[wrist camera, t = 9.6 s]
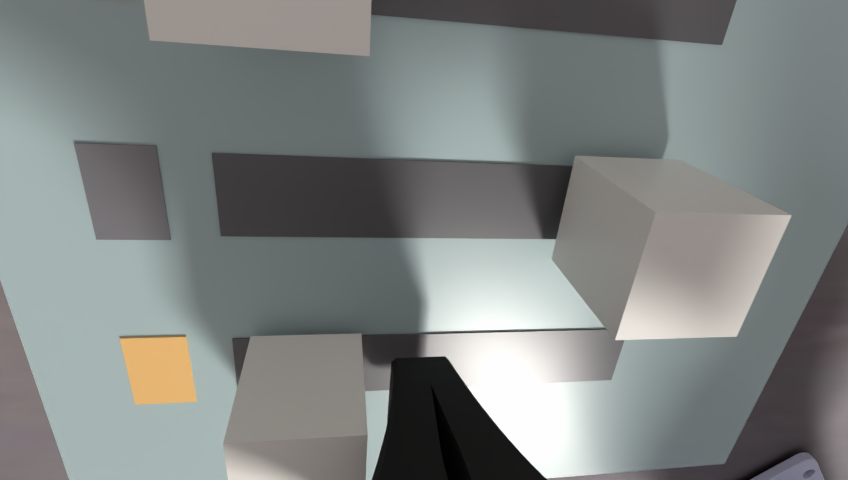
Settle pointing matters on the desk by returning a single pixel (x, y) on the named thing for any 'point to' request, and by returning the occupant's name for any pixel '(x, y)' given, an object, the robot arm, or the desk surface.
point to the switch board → (397, 214)
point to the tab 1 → (264, 24)
